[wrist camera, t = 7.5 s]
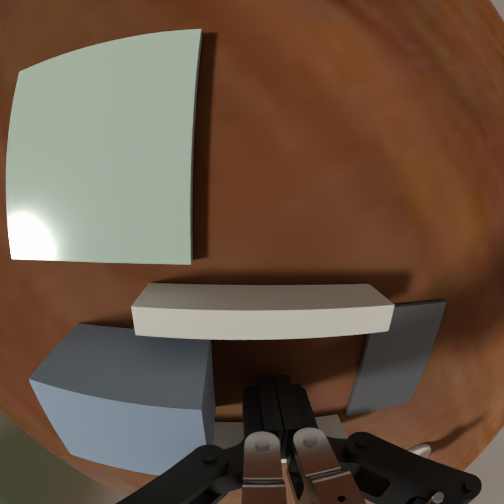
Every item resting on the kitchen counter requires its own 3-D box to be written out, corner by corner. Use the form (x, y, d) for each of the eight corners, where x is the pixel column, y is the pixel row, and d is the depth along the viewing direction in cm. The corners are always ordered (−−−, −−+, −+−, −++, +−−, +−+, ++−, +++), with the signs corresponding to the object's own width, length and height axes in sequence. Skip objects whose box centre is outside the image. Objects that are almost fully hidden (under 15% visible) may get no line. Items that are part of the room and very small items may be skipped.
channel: (448, 280, 13) (476, 295, 10) (403, 410, 15) (418, 433, 13) (149, 282, 12) (131, 306, 9) (173, 430, 14) (168, 461, 12)
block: (210, 332, 12) (200, 409, 8) (215, 407, 14) (212, 480, 9) (78, 323, 12) (28, 378, 7) (100, 394, 13) (71, 454, 8)
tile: (202, 35, 9) (201, 29, 9) (193, 260, 12) (191, 264, 11) (25, 74, 8) (19, 71, 8) (18, 255, 11) (11, 258, 10)
